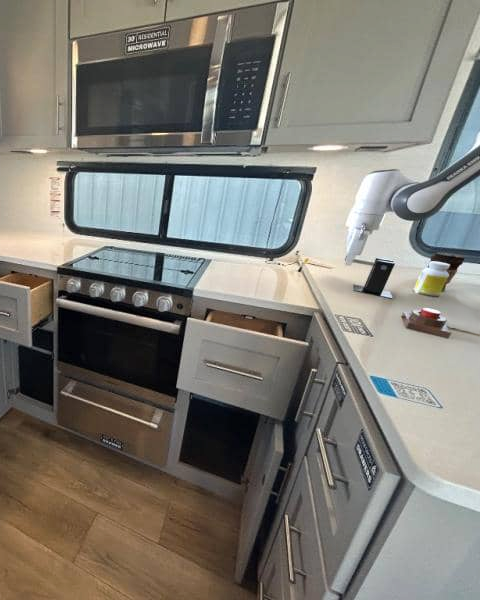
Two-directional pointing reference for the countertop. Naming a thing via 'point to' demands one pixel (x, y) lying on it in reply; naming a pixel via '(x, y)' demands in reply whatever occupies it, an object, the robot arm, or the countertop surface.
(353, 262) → the switch lever
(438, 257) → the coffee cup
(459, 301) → the countertop surface
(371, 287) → the switch bracket
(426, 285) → the pill bottle
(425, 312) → the button
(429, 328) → the button block
